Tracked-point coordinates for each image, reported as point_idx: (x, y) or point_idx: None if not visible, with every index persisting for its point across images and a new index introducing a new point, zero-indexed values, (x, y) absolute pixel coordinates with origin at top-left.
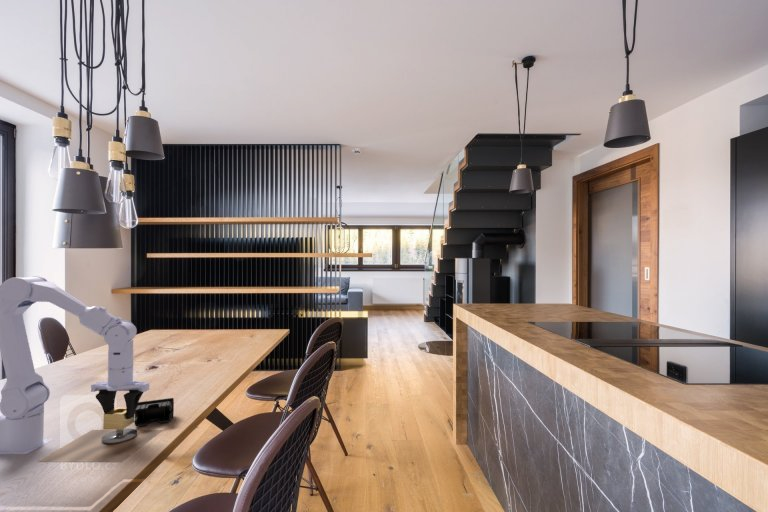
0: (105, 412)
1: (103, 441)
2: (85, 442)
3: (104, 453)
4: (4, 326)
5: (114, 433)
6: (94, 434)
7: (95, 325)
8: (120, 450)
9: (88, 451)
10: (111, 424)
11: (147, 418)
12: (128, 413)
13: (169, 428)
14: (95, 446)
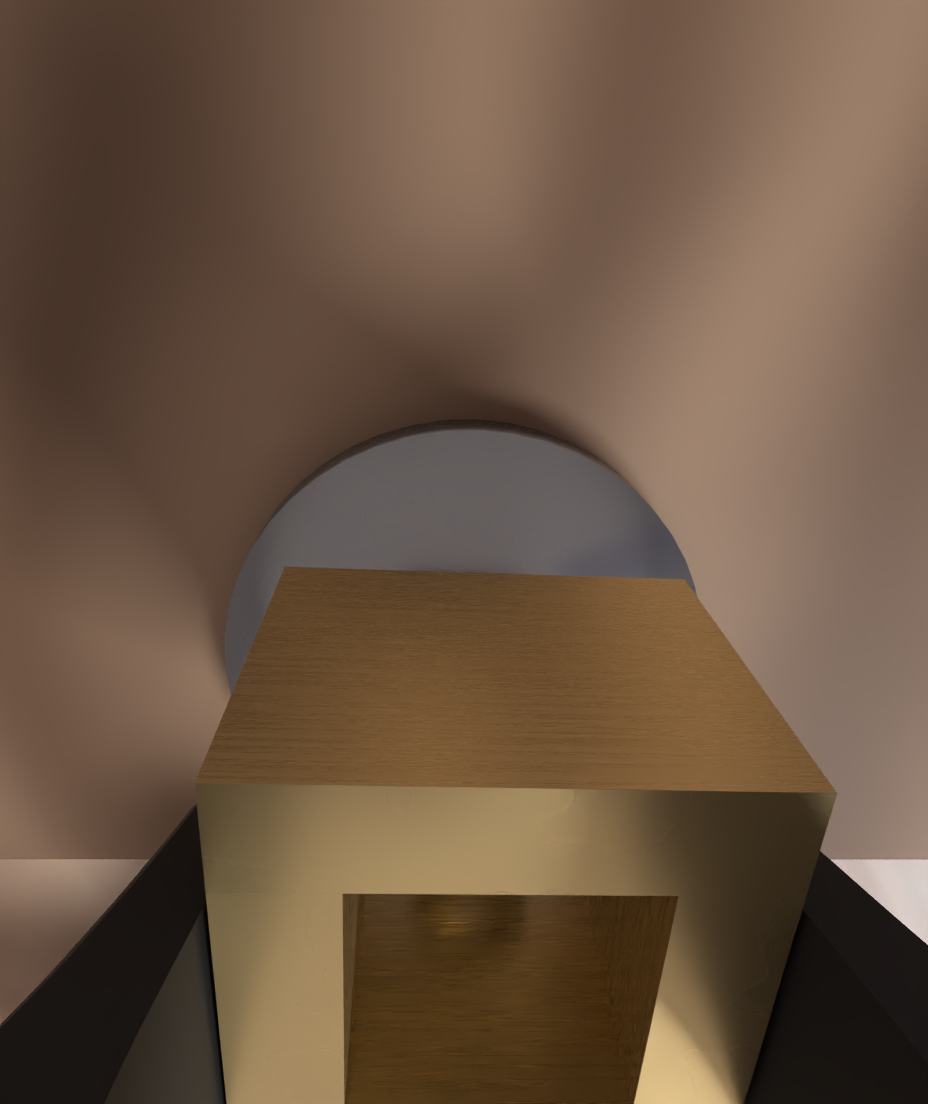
0: (848, 911)
1: (596, 461)
2: (885, 498)
3: (338, 55)
4: None
5: None
6: (879, 736)
7: None
8: (129, 175)
9: (673, 160)
10: (529, 624)
11: None
12: (143, 893)
13: (9, 928)
14: (659, 354)
